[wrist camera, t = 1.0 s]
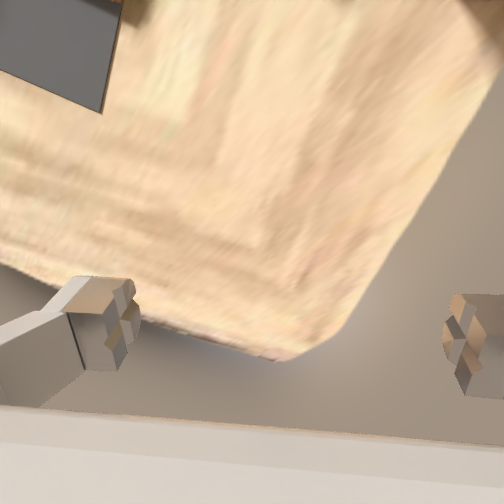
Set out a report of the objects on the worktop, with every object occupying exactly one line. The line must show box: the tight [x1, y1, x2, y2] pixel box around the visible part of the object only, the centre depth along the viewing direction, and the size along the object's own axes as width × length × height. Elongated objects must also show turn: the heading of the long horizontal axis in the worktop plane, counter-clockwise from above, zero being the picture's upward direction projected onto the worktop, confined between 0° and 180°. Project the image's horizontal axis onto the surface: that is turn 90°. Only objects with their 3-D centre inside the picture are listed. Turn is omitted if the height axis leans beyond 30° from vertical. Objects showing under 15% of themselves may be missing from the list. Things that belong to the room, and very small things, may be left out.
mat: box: [0, 0, 122, 112], centre depth 43 cm, size 12×18×1 cm, turn 67°
